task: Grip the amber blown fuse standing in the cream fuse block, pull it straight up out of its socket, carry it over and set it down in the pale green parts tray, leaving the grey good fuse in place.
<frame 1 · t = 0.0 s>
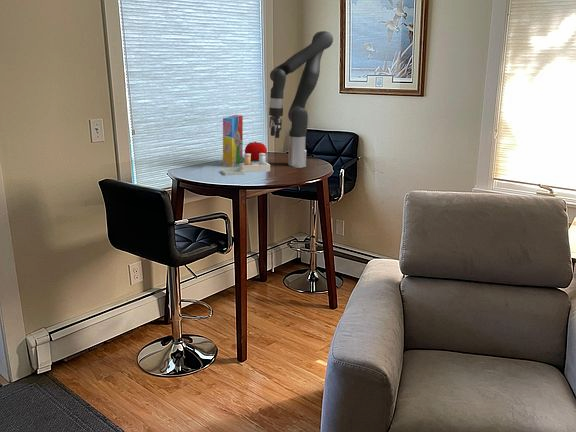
hand: (274, 136, 298), 17 cm above the table, tool pointing down, fingers open, 8 cm apart
good fuse: (262, 170, 289), point 1 cm above the table, touching fuse block
blown fuse: (247, 170, 287), point 1 cm above the table, touching fuse block
parts tray: (232, 174, 280), on the table
fuse block: (254, 172, 288), on the table
tomato: (255, 160, 324), on the table
game box: (233, 165, 307), on the table
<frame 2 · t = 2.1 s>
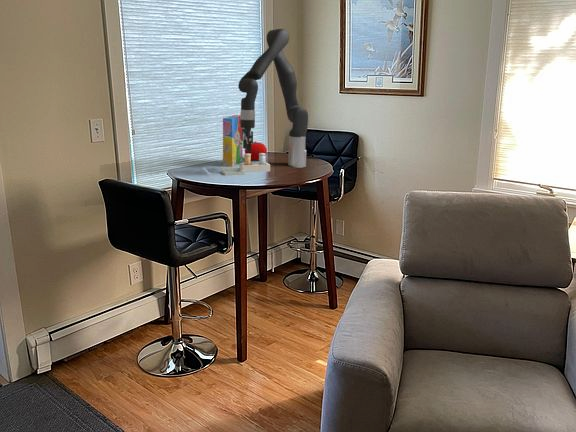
hand: (247, 149, 283), 12 cm above the table, tool pointing down, fingers open, 8 cm apart
nothing on the table moved.
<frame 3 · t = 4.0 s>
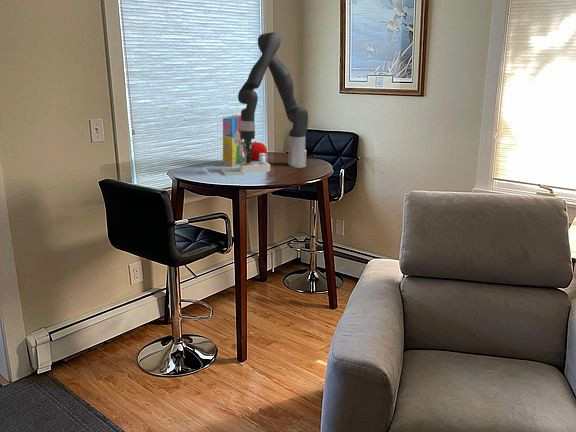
hand: (247, 162, 285), 6 cm above the table, tool pointing down, fingers closed on blown fuse, 3 cm apart
blown fuse: (247, 170, 287), point 1 cm above the table, touching fuse block, gripper
everything else where it was.
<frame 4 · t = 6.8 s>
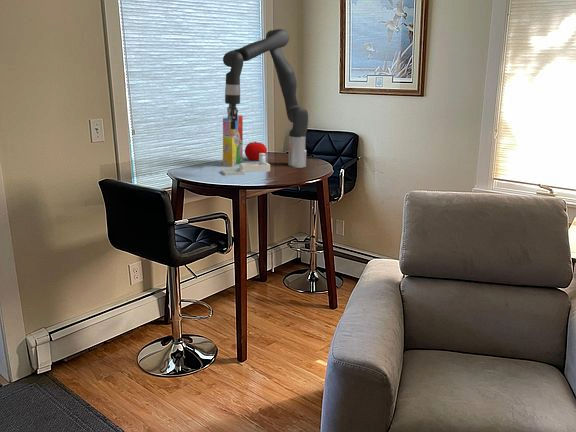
hand: (232, 128, 274), 24 cm above the table, tool pointing down, fingers closed on blown fuse, 3 cm apart
blown fuse: (231, 137, 275), point 19 cm above the table, touching gripper
everything else where it was.
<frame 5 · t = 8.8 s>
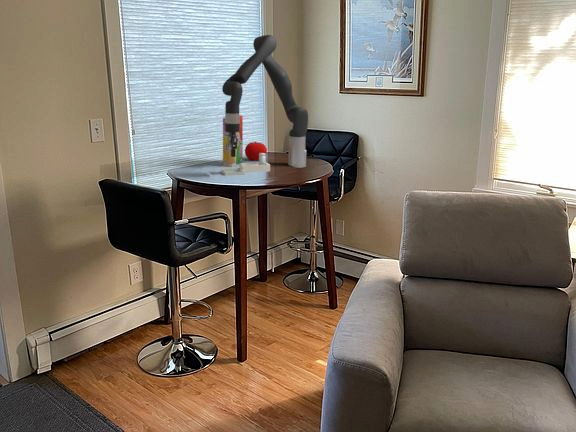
hand: (232, 155, 278), 10 cm above the table, tool pointing down, fingers closed on blown fuse, 3 cm apart
blown fuse: (232, 164, 279), point 5 cm above the table, touching gripper
everything else where it was.
when the fingers open (7 cm above the table, at t = 10.1 s): blown fuse drops 2 cm, resting on parts tray.
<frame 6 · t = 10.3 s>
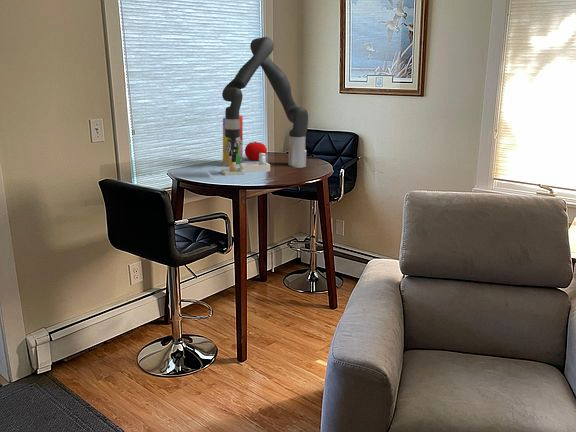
hand: (232, 160, 278), 7 cm above the table, tool pointing down, fingers open, 5 cm apart
blown fuse: (232, 173, 280), point 1 cm above the table, touching parts tray
everything else where it was.
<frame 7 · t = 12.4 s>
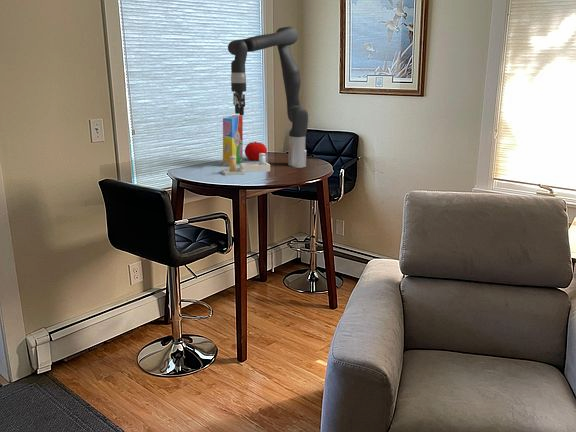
hand: (239, 114, 277), 31 cm above the table, tool pointing down, fingers open, 8 cm apart
nothing on the table moved.
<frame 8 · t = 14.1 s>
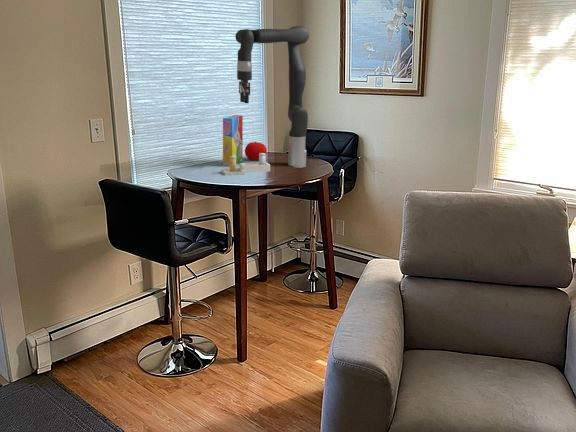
hand: (244, 102, 281), 36 cm above the table, tool pointing down, fingers open, 8 cm apart
nothing on the table moved.
at the end: blown fuse inside the target area on the parts tray (0.0 cm from its centre), point 0.7 cm above the parts tray's base; blown fuse touching parts tray; the gripper is holding nothing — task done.
